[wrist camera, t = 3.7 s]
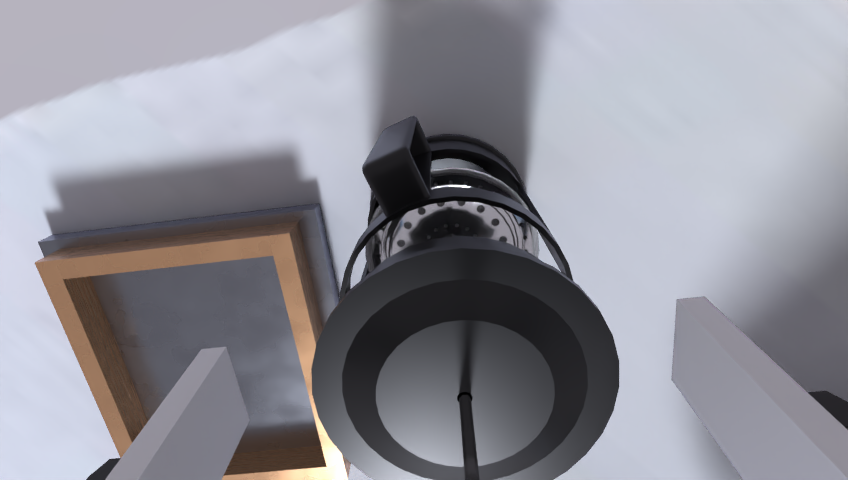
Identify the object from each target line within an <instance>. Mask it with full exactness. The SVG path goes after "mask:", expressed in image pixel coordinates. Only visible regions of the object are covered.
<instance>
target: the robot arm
mask: <svg viewBox="0 0 848 480" xmlns="http://www.w3.org/2000/svg"><path fill="white" fill-rule="evenodd" d="M672 381H673V382H674V384H675V385H676V386H677V388H678V389H679V391H680V392H681V393H682V395H683V396H684V398H685V399H686V401H687V402H688V403H689V405H690V406H691V408H692V409H693V410H694V412H695V413H696V415H697V416H698V417H699V419H700V420H701V422H702V423H703V424H704V426H705V427H706V429H707V430H708V431H709V433H710V434H711V436H712V437H713V438H714V440H715V441H716V443H717V444H718V445H719V447H720V448H721V450H722V451H723V452H724V454H725V455H726V457H727V458H728V459H729V461H730V462H731V464H732V465H733V466H734V468H735V469H736V471H737V472H738V473H739V475H740V476H741V478H742V479H743V480H848V402H846V401H844V400H842V399H841V398H839V397H837V396H835V395H833V394H831V393H829V392H827V391H820V392H809V393H807V392H806V391H805V390H804V389H803V388H802V387H801V386H800V385H799V384H798V383H797V382H796V381H795V380H794V379H792V378H791V377H790V376H789V375H788V374H787V373H786V372H785V371H784V370H783V369H782V368H781V367H780V366H779V365H777V364H776V363H775V362H774V361H773V360H772V359H771V358H770V357H769V356H768V355H767V354H766V353H765V352H763V351H762V350H761V349H760V348H759V347H758V346H757V345H756V344H755V343H754V342H753V341H752V340H751V339H750V338H748V337H747V336H746V335H745V334H744V333H743V332H742V331H741V330H740V329H739V328H738V327H737V326H736V325H735V324H733V323H732V322H731V321H730V320H729V319H728V318H727V317H726V316H725V315H724V314H723V313H722V312H721V311H719V310H718V309H717V308H716V307H715V306H714V305H713V304H712V303H711V302H710V301H709V300H708V299H707V298H706V297H695V298H685V299H677V303H676V318H675V334H674V349H673V364H672ZM249 421H250V419H249V416H248V413H247V410H246V407H245V404H244V400H243V397H242V394H241V391H240V388H239V385H238V382H237V379H236V375H235V372H234V369H233V366H232V363H231V360H230V357H229V353H228V350H227V347H218V348H208V349H201V350H200V352H199V353H198V354H197V356H196V357H195V359H194V360H193V361H192V363H191V364H190V365H189V367H188V368H187V369H186V371H185V372H184V373H183V375H182V376H181V378H180V379H179V380H178V382H177V383H176V384H175V386H174V387H173V388H172V390H171V391H170V392H169V394H168V395H167V396H166V398H165V399H164V401H163V402H162V403H161V405H160V406H159V407H158V409H157V410H156V411H155V413H154V414H153V415H152V417H151V418H150V420H149V421H148V422H147V424H146V425H145V426H144V428H143V429H142V430H141V432H140V433H139V434H138V436H137V437H136V438H135V440H134V441H133V443H132V444H131V445H130V447H129V448H128V449H127V451H126V452H125V453H124V455H123V456H122V457H121V458H116V459H109V460H108V461H107V462H106V463H105V464H103V465H102V466H101V467H100V468H99V469H97V470H96V471H95V472H94V473H93V474H91V475H90V476H89V477H88V478H87V479H86V480H222V478H223V475H224V473H225V471H226V469H227V467H228V465H229V463H230V461H231V459H232V456H233V454H234V452H235V450H236V448H237V446H238V444H239V442H240V440H241V437H242V435H243V433H244V431H245V429H246V427H247V425H248V423H249Z"/></svg>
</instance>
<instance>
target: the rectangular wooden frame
mask: <svg viewBox="0 0 848 480" xmlns="http://www.w3.org/2000/svg"><path fill="white" fill-rule="evenodd" d="M38 243H39V246H40V248H41V250H42V253H43V255H44V258H42V259H40V260H38V261H37V262H35V265H36V267H37V269H38V271H39V274H40V276H41V278H42V280H43V283H44V285H45V287H46V289H47V292H48V294H49V296H50V299H51V301H52V303H53V305H54V308H55V310H56V312H57V314H58V317H59V319H60V321H61V324H62V326H63V328H64V330H65V333H66V335H67V337H68V339H69V342H70V344H71V346H72V349H73V351H74V353H75V355H76V358H77V360H78V362H79V364H80V367H81V369H82V371H83V373H84V376H85V378H86V380H87V383H88V385H89V387H90V389H91V392H92V394H93V396H94V398H95V401H96V403H97V405H98V408H99V410H100V412H101V414H102V417H103V419H104V421H105V423H106V426H107V428H108V430H109V432H110V435H111V437H112V439H113V442H114V444H115V446H116V448H117V451H118V453H119V455H120V457H122V456H123V455H124V453H125V452H126V451H127V449H128V448H129V447H130V445H131V444H132V443H133V441H134V440H135V438H136V437H137V436H138V434H139V433H140V432H141V430H142V429H143V428H144V426H145V425H146V424H147V422H148V421H149V420H150V418H151V417H152V415H153V414H154V413H155V411H156V410H157V409H158V407H159V406H160V405H161V403H162V402H163V401H164V399H165V398H166V396H167V395H168V394H169V392H170V391H171V390H172V388H173V387H174V386H175V384H176V383H177V382H178V380H179V379H180V378H181V376H182V375H183V373H184V372H185V371H186V369H187V368H188V367H189V365H190V364H191V363H192V361H193V360H194V359H195V357H196V356H197V354H198V353H199V352H200V350H201V349H208V348H218V347H227V350H228V353H229V357H230V360H231V363H232V366H233V369H234V372H235V375H236V379H237V382H238V385H239V388H240V391H241V394H242V397H243V400H244V404H245V407H246V410H247V413H248V416H249V419H250V421H249V423H248V425H247V427H246V429H245V431H244V433H243V435H242V437H241V440H240V442H239V444H238V446H237V448H236V450H235V452H234V454H233V456H232V459H231V461H230V463H229V465H228V467H227V469H226V471H225V473H224V475H223V478H222V480H341V479H348V475H349V470H350V465H351V463H350V462H349V461H348V460H347V459H346V458H345V457H344V456H343V455H342V453H341V452H340V451H339V450H338V449H337V447H336V446H335V445H334V444H333V443H332V441H331V440H330V439H329V437H328V435H327V433H326V431H325V429H324V427H323V425H322V423H321V421H320V419H319V418H318V414H317V410H316V406H315V403H314V399H313V395H312V374H311V368H312V363H313V358H314V354H315V349H316V344H317V341H318V339H319V337H320V334H321V332H322V330H323V328H324V326H325V324H326V322H327V320H328V318H329V315H330V314H331V312H332V311H333V310H334V309H335V307H336V306H337V305H338V303H339V302H340V300H339V296H338V291H337V286H336V281H335V277H334V272H333V267H332V262H331V258H330V253H329V248H328V243H327V238H326V234H325V229H324V224H323V219H322V215H321V210H320V205H319V204H310V205H302V206H294V207H285V208H277V209H268V210H260V211H251V212H243V213H234V214H226V215H217V216H209V217H200V218H192V219H184V220H175V221H167V222H158V223H150V224H141V225H133V226H124V227H116V228H107V229H99V230H90V231H82V232H74V233H65V234H57V235H51V236H49V237H47V238H45V239H43V240H41V241H39V242H38Z"/></svg>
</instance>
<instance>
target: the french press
mask: <svg viewBox="0 0 848 480" xmlns="http://www.w3.org/2000/svg"><path fill="white" fill-rule="evenodd" d="M444 158H454V159H461V160H465V161H469V162H472V163H474V164H476V165H478V166H480V167H482V168H483V169H484V170H486V171H487V172H488V173H489V174H490V175H491V176H490V175H488V174H486V173H483V172H479V171H476V170H472V169H468V168H451V167H449V168H442V169H435V170H431V163H432V161H433V160H437V159H444ZM362 169H363V174H364V176H365V178H366V180H367V182H368V184H369V186H370V188H371V190H372V191H373V192H372V197H371V201H370V212H369V217H368V228H367V229H366V231H365V232H364V233H363V234H362V236H361V237H360V238H359V240H358V242H357V244H356V246H355V249H354V251H353V253H352V255H351V257H350V260H349V262H348V265H347V267H346V270H345V273H344V278H343V282H342V287H341V291H340V302H339V303H338V305H337V306H336V307H335V309H334V310H333V311H332V312H331V314H330V315H329V318H328V320H327V322H326V324H325V326H324V328H323V330H322V332H321V334H320V337H319V339H318V341H317V344H316V349H315V354H314V358H313V363H312V368H311V374H312V395H313V399H314V403H315V406H316V410H317V414H318V418H319V419H320V421H321V423H322V425H323V427H324V429H325V431H326V433H327V435H328V437H329V439H330V440H331V441H332V443H333V444H334V445H335V446H336V447H337V449H338V450H339V451H340V452H341V453H342V455H343V456H344V457H345V458H346V459H347V460H348V461H349V462H350V463H352V464H353V465H354V466H355V467H356V468H358V469H359V470H360V471H361V472H362V473H364V474H365V475H366V476H368V477H370V478H372V479H373V480H553V479H555V478H557V477H558V476H560V475H561V474H563V473H565V472H566V471H568V470H569V469H570V468H571V467H572V466H573V465H574V464H576V463H577V462H578V461H579V460H580V459H581V458H582V457H583V456H585V455H586V454H587V452H588V451H589V450H590V449H591V447H592V446H593V445H594V443H595V442H596V441H597V440H598V438H599V437H600V436H601V434H602V433H603V431H604V429H605V427H606V425H607V423H608V421H609V419H610V416H611V414H612V412H613V410H614V406H615V401H616V397H617V393H618V389H619V359H618V355H617V351H616V347H615V343H614V339H613V335H612V333H611V331H610V330H609V328H608V326H607V324H606V322H605V320H604V318H603V316H602V314H601V313H600V311H599V309H598V308H597V306H596V305H595V304H594V303H593V302H592V300H591V299H590V298H589V297H588V296H587V295H586V293H585V292H584V291H583V290H582V289H581V288H580V287H579V285H577V284H576V283H575V282H573V279H572V275H571V271H570V267H569V264H568V262H567V260H566V258H565V257H564V255H563V253H562V251H561V249H560V247H559V245H558V244H557V242H556V241H555V239H554V237H553V236H552V234H551V233H550V231H549V229H548V228H547V226H546V225H545V223H544V221H543V220H542V218H541V217H540V215H539V213H538V212H537V210H536V209H535V207H534V205H533V204H532V202H531V201H530V199H529V197H528V196H527V194H526V193H525V189H524V186H523V182H522V180H521V179H520V177H519V175H518V173H517V171H516V169H515V168H514V166H513V165H512V164H511V163H510V162H509V160H508V159H507V158H506V157H505V156H504V155H503V154H502V153H500V152H499V151H498V150H496V149H495V148H494V147H493V146H491V145H489V144H487V143H485V142H483V141H481V140H479V139H476V138H472V137H468V136H464V135H454V134H443V135H436V136H430V137H427V138H426V137H425V135H424V133H423V130H422V128H421V126H420V124H419V122H418V120H417V118H416V117H415V116H411V117H409V118H407V119H405V120H403V121H401V122H398V123H396V124H394V125H392V126H390V127H388V128H386V129H385V130H384V131H383V132H382V134H381V136H380V137H379V139H378V141H377V142H376V144H375V146H374V147H373V149H372V151H371V153H370V154H369V156H368V158H367V159H366V161H365V163H364V164H363V168H362ZM537 230H538V231H539V233H540V235H541V237H542V238H543V240H544V242H545V244H546V246H547V247H548V249H549V251H550V253H551V254H552V256H553V258H554V260H555V261H556V263H557V265H558V267H559V269H560V270H561V272H560V271H559V270H557V269H556V268H554V267H553V266H550V265H548V264H546V263H544V262H542V261H541V260H539V259H538V254H539V241H538V232H537ZM365 245H366V260H367V262H366V265H365V268H364V272H363V275H362V278H361V281H360V282H359V283H358V284H356V285H355V286H354V287H353V288H352V289H350V278H351V273H352V269H353V265H354V263H355V260H356V258H357V256H358V254H359V253H360V252H361V250H362V249H363V248H364V246H365Z"/></svg>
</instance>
